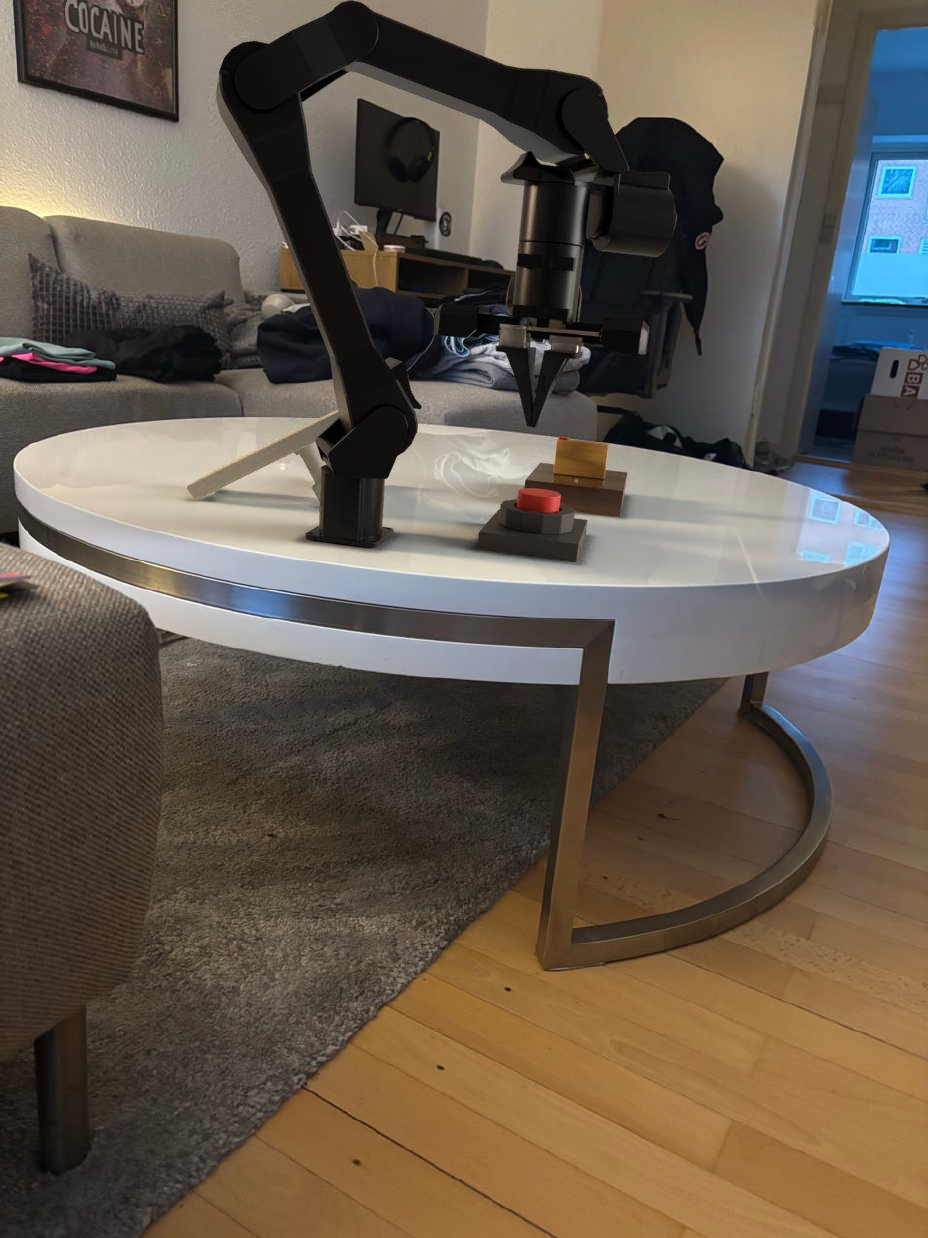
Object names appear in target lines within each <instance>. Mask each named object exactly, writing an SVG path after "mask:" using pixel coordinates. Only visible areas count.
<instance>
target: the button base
mask: <svg viewBox="0 0 928 1238" xmlns="http://www.w3.org/2000/svg"><path fill="white" fill-rule="evenodd" d="M575 515H576V512H575V509H573V508H571V507H569V506H567V505H564V504H560V506H559V511H558V512H537V511H528V510H524V509H520V508H517V498H514V499H506V500H503V501H502V502H501V503H500V506H499V508H498V510H497V511H496V512H494V514H493V515H492V516H491V517H490V519H488V521H487V522H485V524H484V525H483V527H481V529H480V530H479V531H478V537H477V538H478V539H477V548H476V549H477V550H480V551H487V552H496V553H501V554H511V555H518V556H525V557H532V558H533V557H534V558H541V559H548V560H549V559H550V560H555V561H556V560H557V561H564V562H571V563H572V562H573V563H577V562H578V559H579V556H580V553H581V550H582V548H583V545H584V541H585V539H586V535H587V529H588V528H587V526H588V519H583V518H575Z"/></svg>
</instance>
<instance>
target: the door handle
mask: <svg viewBox="0 0 928 1238" xmlns="http://www.w3.org/2000/svg"><path fill="white" fill-rule="evenodd" d="M338 417H339V411H338V408H337V409H336V410H333V411H332V412H330V413H327V414H324V415H323V416H321V417H319V418H317V419H316V420H314V421H311V422H309V423H306V424H305V425H304V426H301V427H299V428H297V429H295V430H293V431H291V432H288V433H287V434H285V435H283V436H281V437H279V438H277V439H275V440H273V441H271V442H269V443H267V444H265V445H263V446H260V447H259V448H257V449H255V450H252V451H251V452H248V453H247V454H245V455H242V456H240V457H239V458H236V459H235V460H232V461H230V462H229V463H226V464H224V465H222V466H220V467H218V468H216V469H214V470H211V471H210V472H208V473H206V474H205V475H203V476H201V477H199V478H198V479H196V480H194V481H193V482H191V483H189V484H187V485H186V490H187V491H188V493H189V494H190V495H191V497H192V498H193V499H194V500H199V499H202V498H204V497H205V496H208V495H210V494H212V493H214V492H216V491H218V490H220V489H223V488H224V487H226V486H228V485H230V484H232V483H234V482H237V481H239V480H241V479H243V478H245V477H247V476H249V475H251V474H253V473H255V472H258V471H259V470H261V469H263V468H265V467H267V466H270V465H271V464H274V463H276V462H277V461H280V460H281V459H284V458H286V457H288V456H289V455H292V454H295V456H298V455H299V456H300V458H301V459H302V460H303V462H304V465H305V467H306V468H307V470H308V472H309V474H310V475H311V478H312V479H313V482H314V484H313V485H312V486H311V489H312V491H313V493H314V495H315V496H316V499H317V500H318V502H319V503H320V479H321V467H322V466H324V465H327V464H326V463H325V462H324V461H322V460H321V457H320V454H319V451H318V448H317V445H316V442H315V439H316V437H317V436H319V435H320V434H321V433H322V432H323V431H324V430H325V429H326V428H327V427H328V426H330V425H331V424H332V423H333V422H334V421H335V420H336V419H337V418H338Z"/></svg>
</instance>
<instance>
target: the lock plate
mask: <svg viewBox="0 0 928 1238" xmlns="http://www.w3.org/2000/svg"><path fill="white" fill-rule="evenodd" d="M553 472H554V463H548V462H539V464H538V465H537V466H536V467H534V469H533V471H531V473H530V474H529V475H528V476H527V477H526V478H525V480H524V488H523V489H525V488H536V489H545V490H551V491H555V492H558V493H560V494H561V498H560V504H564V505H567V506H569V507H571V508H573V509H575V513H582V514H590V515H599V516H605V517H606V516H607V517H614V518H621V514H622V509H623V505H624V500H625V494H626V487H627V481H628V480H627V479H628V471H619V470H610V469H606V473H605V478H604V479H597V478H589V477H580V476H572V475H563V474H554V473H553Z"/></svg>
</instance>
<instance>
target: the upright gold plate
mask: <svg viewBox="0 0 928 1238" xmlns="http://www.w3.org/2000/svg"><path fill="white" fill-rule="evenodd" d="M609 448H610V443H608V442H601V441H600V442H599V441H591V440H590V441H589V440H581V439H573V438H570V437H569V436H564V435H563V436H562V435H560V436H559V437H558V438H556V445H555V455H554V463H553V464H554V472H553V473H554V474H563V475H572V476H580V477H589V478H597V479H604V478H605V473H606V470H607V465H608V464H607V463H608V456H609Z"/></svg>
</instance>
